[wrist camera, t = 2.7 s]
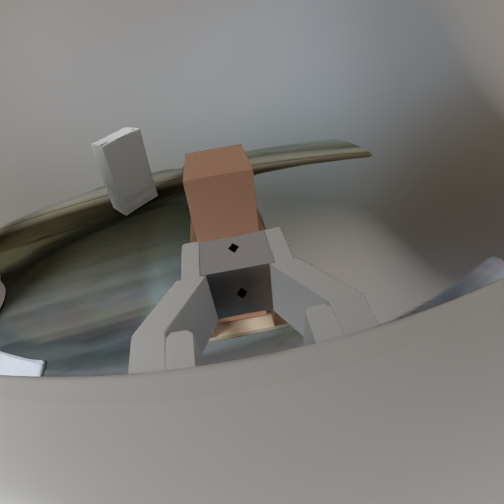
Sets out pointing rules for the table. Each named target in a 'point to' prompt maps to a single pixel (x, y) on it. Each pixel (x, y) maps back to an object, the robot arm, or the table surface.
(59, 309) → the table surface
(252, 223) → the post
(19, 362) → the folded bicycle print cloth
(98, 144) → the skincare box
